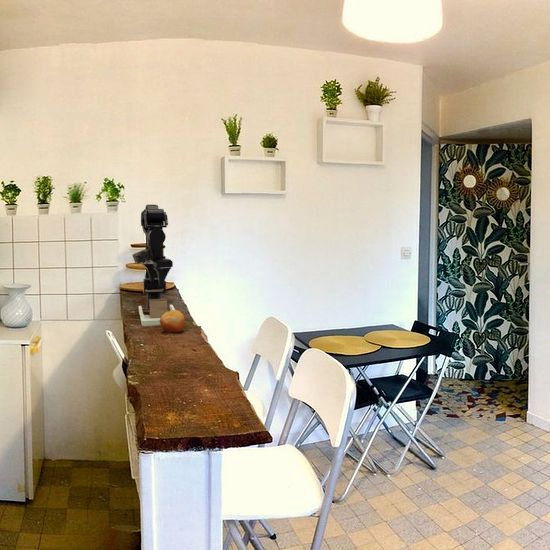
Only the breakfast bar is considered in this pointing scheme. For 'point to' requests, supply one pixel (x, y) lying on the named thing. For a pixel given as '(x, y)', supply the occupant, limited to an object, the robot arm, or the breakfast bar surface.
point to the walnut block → (157, 307)
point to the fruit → (172, 321)
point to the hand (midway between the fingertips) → (156, 283)
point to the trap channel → (150, 321)
